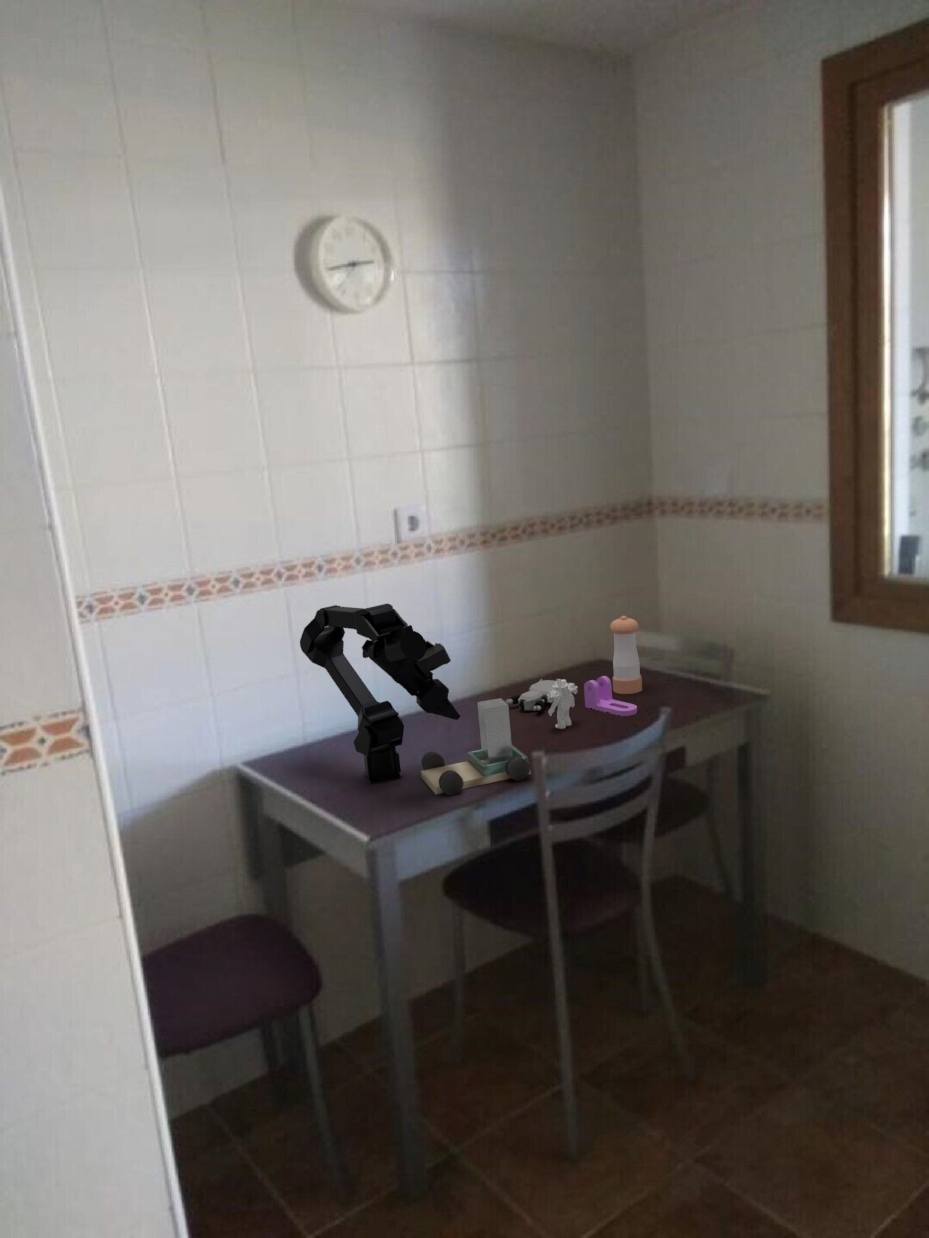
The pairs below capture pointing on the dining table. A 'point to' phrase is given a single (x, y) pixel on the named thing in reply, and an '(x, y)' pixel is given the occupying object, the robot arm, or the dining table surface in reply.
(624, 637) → the pepper shaker
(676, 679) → the dining table surface
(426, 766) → the toy car chassis
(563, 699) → the flower shoulder figurine
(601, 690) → the bracket
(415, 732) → the dining table surface
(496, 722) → the tall gray rectangular block
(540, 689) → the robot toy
